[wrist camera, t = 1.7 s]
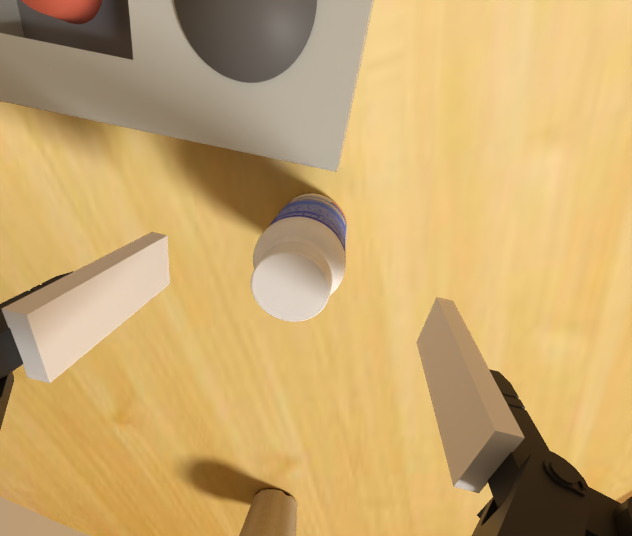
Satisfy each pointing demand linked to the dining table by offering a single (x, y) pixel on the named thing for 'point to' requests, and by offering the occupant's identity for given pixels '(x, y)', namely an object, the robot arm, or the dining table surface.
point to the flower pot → (271, 515)
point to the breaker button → (67, 9)
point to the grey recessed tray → (197, 70)
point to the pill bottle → (300, 258)
